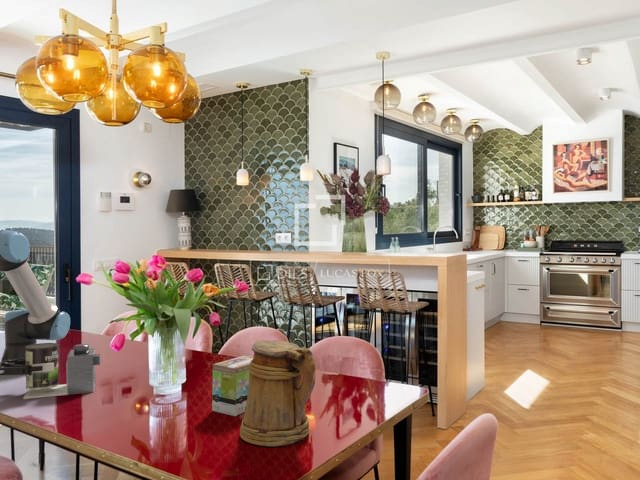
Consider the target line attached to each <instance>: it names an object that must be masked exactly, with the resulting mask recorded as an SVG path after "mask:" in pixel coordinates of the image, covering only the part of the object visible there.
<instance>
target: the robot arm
mask: <svg viewBox="0 0 640 480" xmlns="http://www.w3.org/2000/svg"><path fill="white" fill-rule="evenodd" d="M30 247H31V245H30V242H29V240H28V238H27V236H26V235H25V234H23V233H22V232H19V231H16V230H9V229H8V230H0V272H1V273H4V274H5V276H6V278H7V280H8V281H9V282H10V285H11V286H12V288H13V289H14V291H15V293H16V294H17V296H18V298H19V300H20V301H21V302H22V304H23V306H24V308H22V309H17V310H11V311H7V312H6V313H5V315H4V339H5V341H4V342H5V344H4V345H5V348H4V349H3V353H2V356H1V359H0V376H22V375H23V376H26V375H28V376H30V375H32V373H36V372H48V371H54V363H42V364H32V365H26V350H25V347H26V346H28V345H33V344H38V343H37V340H41V341H58V340H59V341H60V340H62V339H64V338H65V337H66V336H67V334H68V332H69V330H70V326H71V317H70V314H68V312H65V311H61V310H59V308H58V306H57V304H55V303H52V302H50V300H49V299H48V297H47V294H46V293H45V292H44V289H43V288H42V286H41V284H40V282H39V281H38V279H37V277H36V275H35V273H34V272H33V270H32V269H31V266H30V265H29V263H28V261H29V259H30V258H29V256H30V254H31V249H30Z"/></svg>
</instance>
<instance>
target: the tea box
mask: <svg viewBox="0 0 640 480" xmlns="http://www.w3.org/2000/svg"><path fill="white" fill-rule="evenodd" d="M253 357H254V356H252V355H251V356H249V355H240V356H237V357H233V358H229V359H227V360H223V361H220V362H216V363H213V364H212V392H211V393H212V404H211V406H212V407H211V408H212V411H213V412H216V413H219V414H223V415H224V414H225V415H228V416H231V417H237V416H238V415H240V414H243V413H245V409H246V403H247V396H248V389H249V381H250V374H251V373H250V372H249V368H250V362H251V360H253Z"/></svg>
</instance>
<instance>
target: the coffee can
mask: <svg viewBox="0 0 640 480" xmlns="http://www.w3.org/2000/svg"><path fill="white" fill-rule="evenodd" d="M59 347H60V346H59V343H56V342H41V343H37V344H33V345H28V346H26V347H25V350H26V365H32V364H42V363H54V371H48V372H36V373H32V375H30V376H28V375H25V389H26V390H42V389H48V388H52V387H55V386H57V385H60V384H59Z"/></svg>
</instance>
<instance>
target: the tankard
mask: <svg viewBox="0 0 640 480" xmlns="http://www.w3.org/2000/svg"><path fill="white" fill-rule="evenodd" d="M251 351H253V356H252V357H253V360H251V362H250V368H249V372H250V373H251V374H250V381H249V389H248V396H247V403H246V409H245V412H244V417H243V419H242V421H241V425H240V427H239V428H240V430H239V437H240V438H241V440H243V441H245V442H247V443H249V444H252V445H256V446H261V447H270V448H271V447H275V448H276V447H283V446H284V447H285V446H290V445H294V444H296V443H298V442H300V441H303V440H304V439H305V438H306V437H307V436H308V434H309V432H310V420H309V417H308V416H307V415H306V407H305V405H306V404H307V402H308V400H309V399H310V397H311V396H312V392H313V390H314V388H315V383H316V379H317V378H316V365H315V360H314V358H313V351H312V350H311V349H310V348H303V347H300V346H299V345H298V344H296V343H294V342H289V341H285V340H276V339H275V340H273V339H272V340H270V339H266V340H261V339H258V340H256V341H255V342H254V343H253V345H252V346H251Z"/></svg>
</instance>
